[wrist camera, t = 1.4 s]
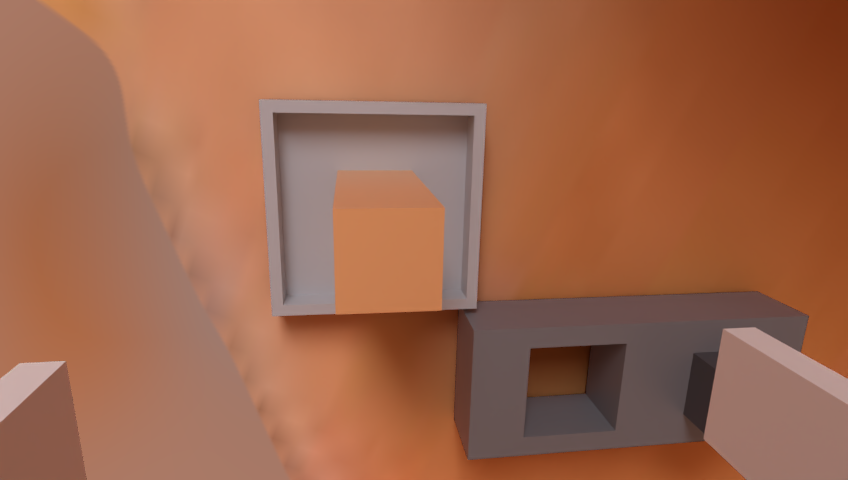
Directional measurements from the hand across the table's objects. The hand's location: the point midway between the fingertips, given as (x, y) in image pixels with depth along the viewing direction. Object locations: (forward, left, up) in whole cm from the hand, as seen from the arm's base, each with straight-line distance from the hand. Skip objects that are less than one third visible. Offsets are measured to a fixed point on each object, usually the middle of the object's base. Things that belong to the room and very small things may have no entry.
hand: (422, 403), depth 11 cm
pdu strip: (+10, +15, -20) cm, 27 cm away
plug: (0, 0, -19) cm, 19 cm away
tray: (0, 0, -20) cm, 20 cm away
